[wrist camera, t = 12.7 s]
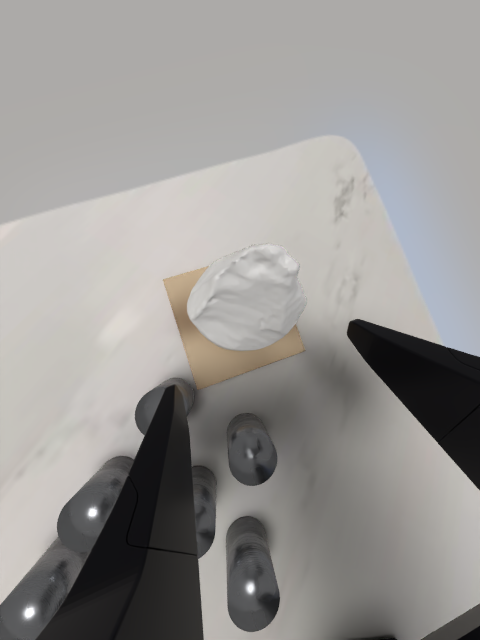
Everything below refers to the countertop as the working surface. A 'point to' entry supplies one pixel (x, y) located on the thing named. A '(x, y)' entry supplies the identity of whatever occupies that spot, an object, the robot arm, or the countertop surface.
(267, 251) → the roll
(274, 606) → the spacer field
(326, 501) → the countertop surface
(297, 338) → the mat
